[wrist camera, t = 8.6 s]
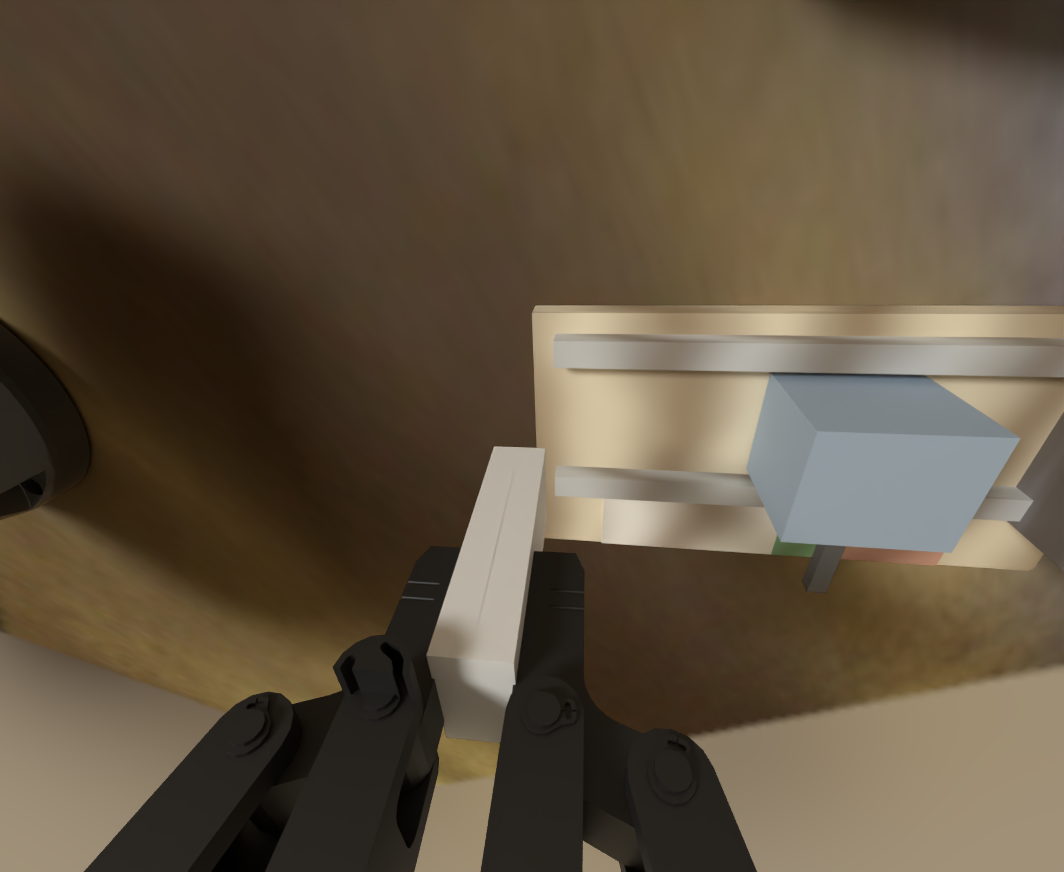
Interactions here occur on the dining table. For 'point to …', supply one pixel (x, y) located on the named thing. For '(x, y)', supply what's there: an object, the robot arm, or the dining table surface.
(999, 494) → the gauge base
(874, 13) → the dining table surface
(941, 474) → the carriage
